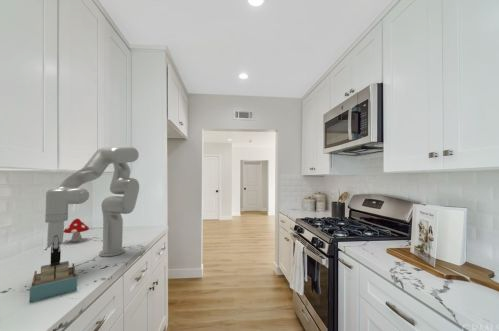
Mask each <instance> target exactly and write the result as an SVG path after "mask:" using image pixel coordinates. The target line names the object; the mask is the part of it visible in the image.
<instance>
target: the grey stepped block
mask: <svg viewBox="0 0 499 331" xmlns="http://www.w3.org/2000/svg"><path fill="white" fill-rule="evenodd" d="M58 247H59V246H58ZM53 248H54V247H53ZM51 253H52V246H50V254H51ZM63 264H68V265H69V266H70V264H69V260H66V261H65V260H64V261H60V262H55V263H49V264H46V265H41V267H40V270H41V269H42V268H47V267H52V266H54V272H55V271H56V266H57V265H63Z"/></svg>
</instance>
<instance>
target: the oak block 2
mask: <svg viewBox="0 0 499 331" xmlns="http://www.w3.org/2000/svg"><path fill="white" fill-rule="evenodd" d="M69 267H70V264H69V265H68V264H63V265H57V266H56V279H57V278H62V277H66V276H68V269H69Z"/></svg>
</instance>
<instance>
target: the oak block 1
mask: <svg viewBox="0 0 499 331" xmlns="http://www.w3.org/2000/svg"><path fill="white" fill-rule="evenodd" d="M40 273H41V282H44V281H48V280H53V279H54V266H52V267H47V268H42V269H41V268H40Z"/></svg>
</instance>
